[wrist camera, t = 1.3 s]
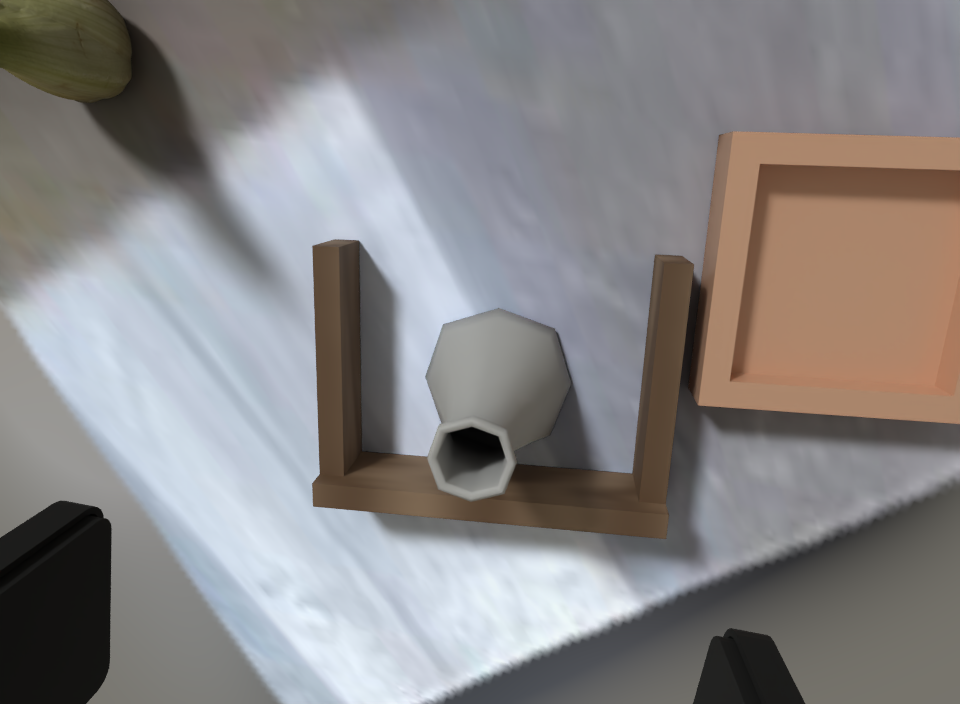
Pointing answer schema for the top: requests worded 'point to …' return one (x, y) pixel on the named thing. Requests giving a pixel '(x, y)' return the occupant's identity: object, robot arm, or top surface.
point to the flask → (492, 398)
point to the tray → (832, 277)
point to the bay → (531, 489)
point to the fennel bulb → (66, 47)
